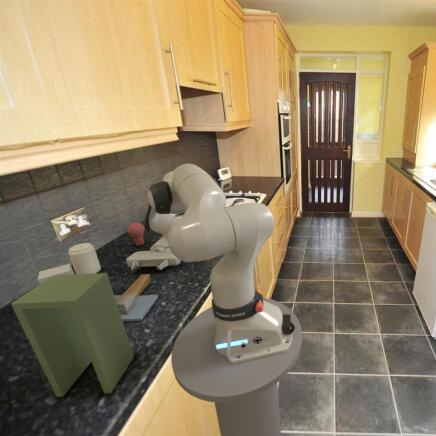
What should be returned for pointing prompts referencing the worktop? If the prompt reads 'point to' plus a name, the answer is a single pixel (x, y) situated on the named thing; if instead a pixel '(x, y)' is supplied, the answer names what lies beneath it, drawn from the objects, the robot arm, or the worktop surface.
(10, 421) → the worktop surface
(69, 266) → the small box
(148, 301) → the mat
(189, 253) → the robot arm
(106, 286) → the green arch block
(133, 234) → the light bulb
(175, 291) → the worktop surface
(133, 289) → the mallet
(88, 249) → the beverage can
